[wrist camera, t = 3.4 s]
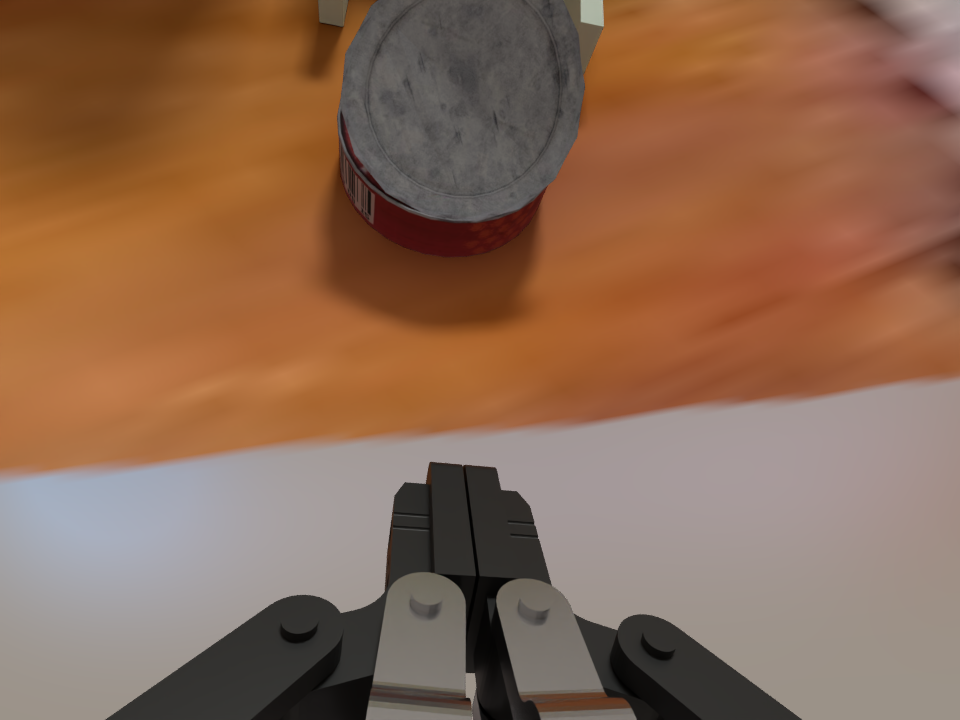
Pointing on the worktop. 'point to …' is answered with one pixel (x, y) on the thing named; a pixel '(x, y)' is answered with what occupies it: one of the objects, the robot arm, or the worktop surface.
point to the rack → (580, 3)
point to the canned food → (457, 118)
